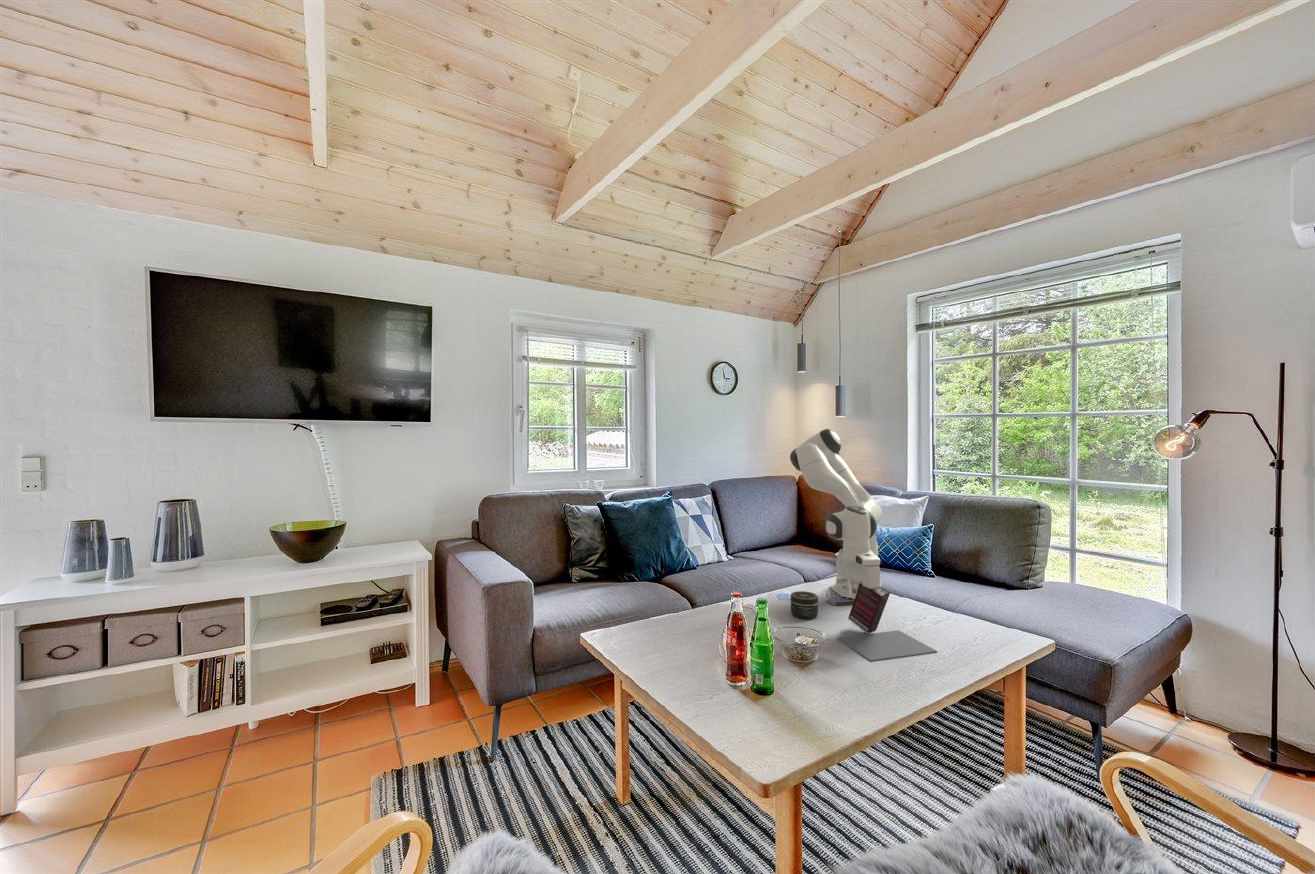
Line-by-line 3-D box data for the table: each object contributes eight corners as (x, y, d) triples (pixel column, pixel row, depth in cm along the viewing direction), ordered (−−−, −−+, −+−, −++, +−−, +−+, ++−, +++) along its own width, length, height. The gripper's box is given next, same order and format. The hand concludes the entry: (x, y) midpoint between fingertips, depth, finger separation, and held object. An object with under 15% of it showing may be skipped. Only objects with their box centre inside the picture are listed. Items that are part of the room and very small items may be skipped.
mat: (836, 638, 172) (837, 637, 172) (898, 631, 178) (898, 630, 178) (870, 661, 156) (870, 660, 156) (937, 652, 162) (937, 650, 162)
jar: (821, 620, 189) (821, 599, 188) (794, 620, 189) (794, 599, 189) (813, 610, 199) (814, 590, 198) (787, 610, 199) (787, 590, 199)
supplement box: (876, 630, 177) (891, 593, 171) (868, 635, 174) (882, 597, 168) (855, 614, 183) (868, 577, 178) (846, 618, 181) (860, 581, 175)
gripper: (831, 547, 190) (831, 585, 190) (867, 562, 170) (866, 604, 170) (846, 546, 191) (846, 584, 191) (883, 560, 171) (883, 602, 172)
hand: (856, 593), depth 181 cm, fingers closed
